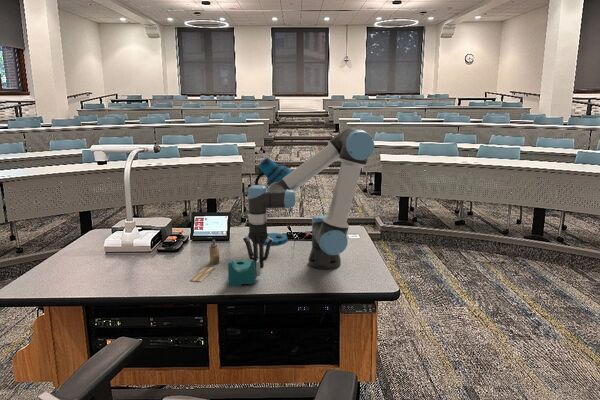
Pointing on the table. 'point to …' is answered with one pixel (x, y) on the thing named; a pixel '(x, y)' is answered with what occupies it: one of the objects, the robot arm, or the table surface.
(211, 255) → the awl
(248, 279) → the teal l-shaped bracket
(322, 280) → the table surface
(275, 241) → the desk lamp
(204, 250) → the table surface
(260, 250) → the robot arm
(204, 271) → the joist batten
